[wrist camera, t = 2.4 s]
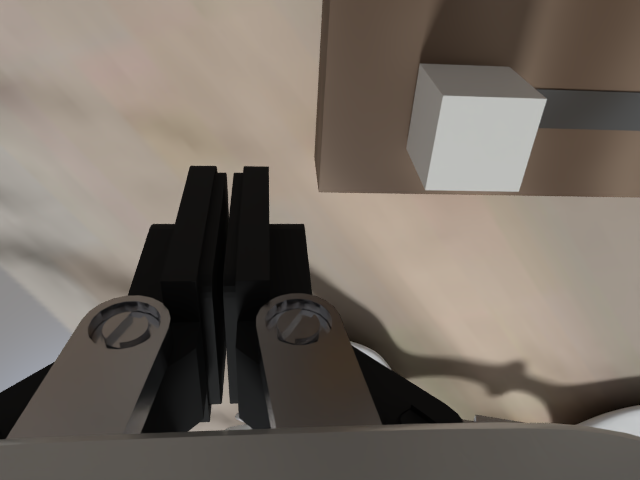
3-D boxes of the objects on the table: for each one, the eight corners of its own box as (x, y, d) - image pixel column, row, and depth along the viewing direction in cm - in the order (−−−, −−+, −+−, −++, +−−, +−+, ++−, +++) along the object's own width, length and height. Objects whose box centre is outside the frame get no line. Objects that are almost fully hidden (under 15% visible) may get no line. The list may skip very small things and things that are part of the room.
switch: (509, 66, 18) (547, 99, 15) (488, 150, 19) (518, 191, 17) (419, 63, 17) (443, 95, 15) (406, 148, 19) (425, 190, 16)
